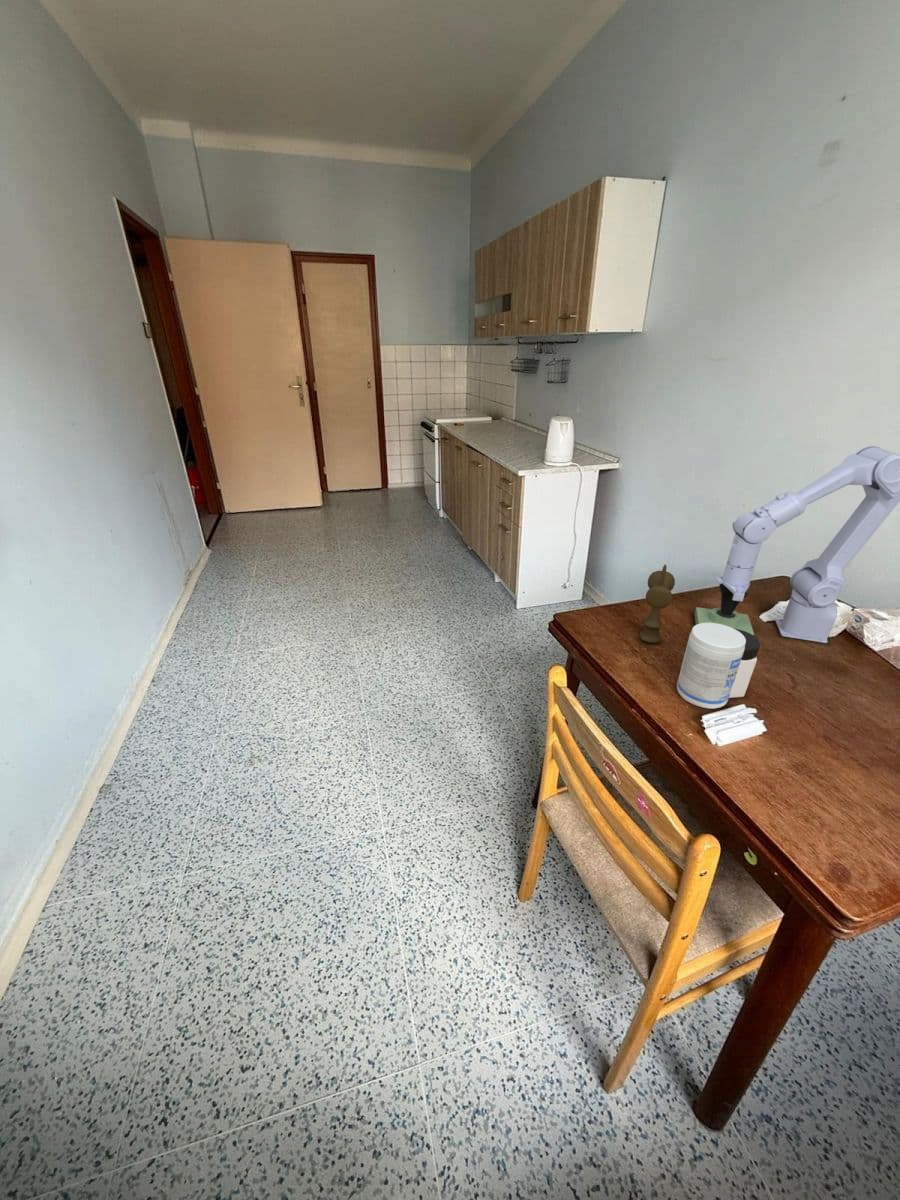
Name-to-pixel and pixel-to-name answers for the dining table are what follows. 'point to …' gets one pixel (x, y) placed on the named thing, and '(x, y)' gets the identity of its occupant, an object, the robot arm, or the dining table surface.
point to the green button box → (723, 619)
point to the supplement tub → (710, 664)
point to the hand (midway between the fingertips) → (725, 613)
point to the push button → (725, 615)
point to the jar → (745, 665)
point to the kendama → (657, 603)
